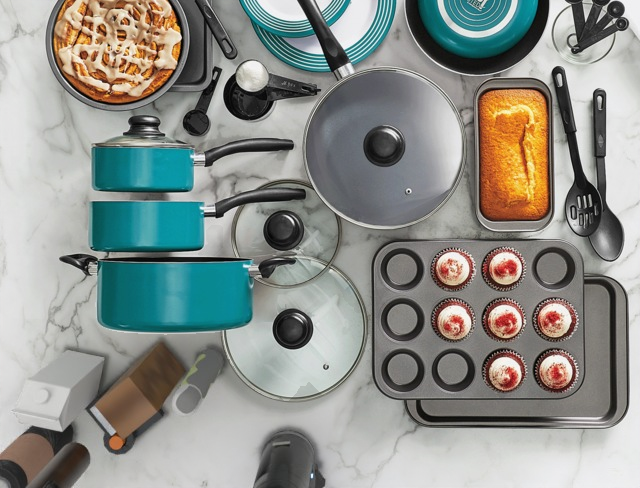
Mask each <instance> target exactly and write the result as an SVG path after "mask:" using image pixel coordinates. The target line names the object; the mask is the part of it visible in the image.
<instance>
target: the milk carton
mask: <svg viewBox="0 0 640 488" xmlns="http://www.w3.org/2000/svg"><path fill="white" fill-rule="evenodd" d="M105 359H106V358H105V357H104V356H98V355H94V354H89V353H85V352H81V351H80V352H78V351H75V350H70V349H66V350H64V352H62V353H61V354H59V355H58V356H57V357H56V358H54V359H52V361H50V362H49V363H47V365H45V366H44V367H42V368H41V369H40V370H39V371H38V372H36V373H34V374H33V375H31V377H29V378H28V379H27V380H26V382H25V384H24V386H23V388H22V390H21V392H20V395H19V397H18V399H17V401H16V403H15V405H14V406H13V408H12V409H11V410H10V413H12V414H15V416H16V419H17V422H18V423H20V424H24V425H29V426H37V427H42V428H46V429H51V430H56V431H61V432H63V431H64V430H65V428H66V427H67V426H68V425H69V424H71V423H73V421H75V419H77V418H78V416H79V415H81V413H82V412H83V411H84V410H86V409H85V408H86V407H87V406H88V405H89V404H90V403H91V402H92V401H93V400H94V399H96V398H97V397H98V396H99V395H98V394H99V389H100V385H101V380H102V374H103V369H104V364H105Z"/></svg>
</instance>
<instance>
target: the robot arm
mask: <svg viewBox="0 0 640 488" xmlns="http://www.w3.org/2000/svg"><path fill="white" fill-rule="evenodd" d="M258 464H259V465H258V468H257V472H256V475H255V478H254V482H253V486H252V488H325V487H326V478H325V477H324V476H323V474H322V473H321V472H320V471H319V470H318V463H317V462H316V461H315V450H314V447H313V445H312V443H311V442H310V440H309V439H308V438H307V437H306V436H305V435H303V434H302V433H299V432H297V431H294V430H281V431H278V432H276V433H274V434H273V435H272V436H270V437H269V438H268V439H267V441H266V442H265V444H264V446H263V449H262V452H261V457H260V461H259V463H258ZM43 488H61V487H60V486H59V485H58V484H57V483H56V481H54V480H50V481H49V482H47V483H46V484H45V485H44V486H43Z"/></svg>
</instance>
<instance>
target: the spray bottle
mask: <svg viewBox="0 0 640 488" xmlns="http://www.w3.org/2000/svg"><path fill="white" fill-rule="evenodd" d="M224 364H225V361H224V358H223V355H222V354H221V353H220V352H219V351H218V350H216V349H212V348H208V349H204V350H203V351H202V352H200V353H199V354H198V356H197V357H196V358H195V361H194V363H193V365H192V367H191V368H190V369H189V370H188V372H187V373H186V376H185V377H184V379H183V381H182V382H181V383H180V384H179V386H178V387H177V390H176V392H175V393H174V394H173V397H172V399H171V408H172V411H173V413H174V414H175V415H176V416H178V417H181V418H189V417H191V416H193V415H194V414H195V413H196V412H197V410H198V409H199V407H200V406H201V403H202V402H203V400H204V399H205V398H206V396H207V394H208V393H209V390H210V389H211V387H212V386H213V384H215V382H216V380H217V378H218V376H219V375H220V374H221V372H222V371H223V368H224Z"/></svg>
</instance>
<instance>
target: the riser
mask: <svg viewBox="0 0 640 488" xmlns="http://www.w3.org/2000/svg"><path fill="white" fill-rule="evenodd" d="M186 372H187V370H186V368H184V366H183V364H182V363H180V361H179V360H178V359H177V357H175V355H174V354H173V352H171V350H170V349H169V348H168V346H167V345H166V344H165V343H164V342H163V341H160V342H158V343H157V344H156V345H155V346H154V347H152V348H151V349H150V350H149V351H147V352H146V353H145V354H144V355H143V356H141V357H140V358H138V360H137V361H135V362H134V363H133V364H132V365H131V366H130V367H128V369H127V370H126V371H125V372H124V373H123V374H122V375H121V376H120V378H118V379H117V380H116V381H117V382H116V381H115V382H116V383H115V382H114V383H115V384H114V383H113V384H114V385H113V384H112V385H113V386H112V385H111V386H112V387H111V388H110V389H109V390H108V391H107V392H106V393H105V394H104V395H103V396H102V397H101V398H100V399H99V400H98V401H97V403H96V404H95V405H94V406H95V407H96V408H97V409H98V410H99V412H100V413H101V414H102V415H103V417H104V418H105V419H106V420H107V421H108V423H109V424H110V425H111V426H112V427H113V429H114V430H115V431H116V432H117V434H118V435H119V436H120V437H121V438H122V440H124V439H125V438H126V437H127V436H129V435H130V434H131V433H132V432H133V431H135V430H136V429H137V428H138V427H140V426H141V425H142V424H143V423H144V422H146V421H147V420H148V419H149V418H151V417H152V416H153V415H154V414H156V413H157V412H158V410H159V409H160V408H161V407H162V406H163V405H164V403H165V402H166V401H167V399H168V398H169V396H170V395H171V393H172V392H173V390H174V389H175V388H176V386H177V385H178V384H179V383H180V381H181V379H182V378H183V377H184V375H185V374H186ZM161 409H162V408H161Z"/></svg>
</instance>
